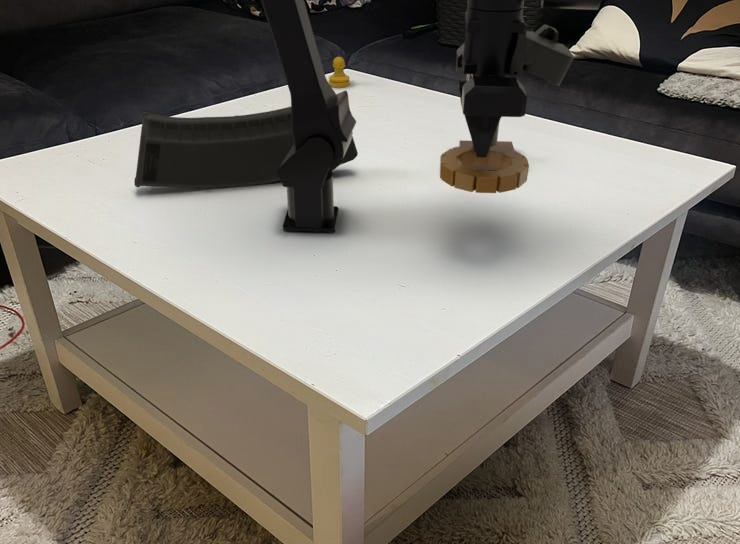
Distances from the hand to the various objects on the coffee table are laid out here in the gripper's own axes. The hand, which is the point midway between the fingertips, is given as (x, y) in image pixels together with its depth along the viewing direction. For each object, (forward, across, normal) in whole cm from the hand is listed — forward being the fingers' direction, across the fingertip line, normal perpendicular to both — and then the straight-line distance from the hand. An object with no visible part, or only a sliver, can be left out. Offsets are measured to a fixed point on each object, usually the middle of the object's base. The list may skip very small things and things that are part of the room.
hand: (480, 153), depth 85 cm
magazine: (+10, +14, +30) cm, 35 cm away
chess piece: (+10, +61, +22) cm, 65 cm away
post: (+10, +24, -4) cm, 26 cm away
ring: (+1, -4, 0) cm, 4 cm away
